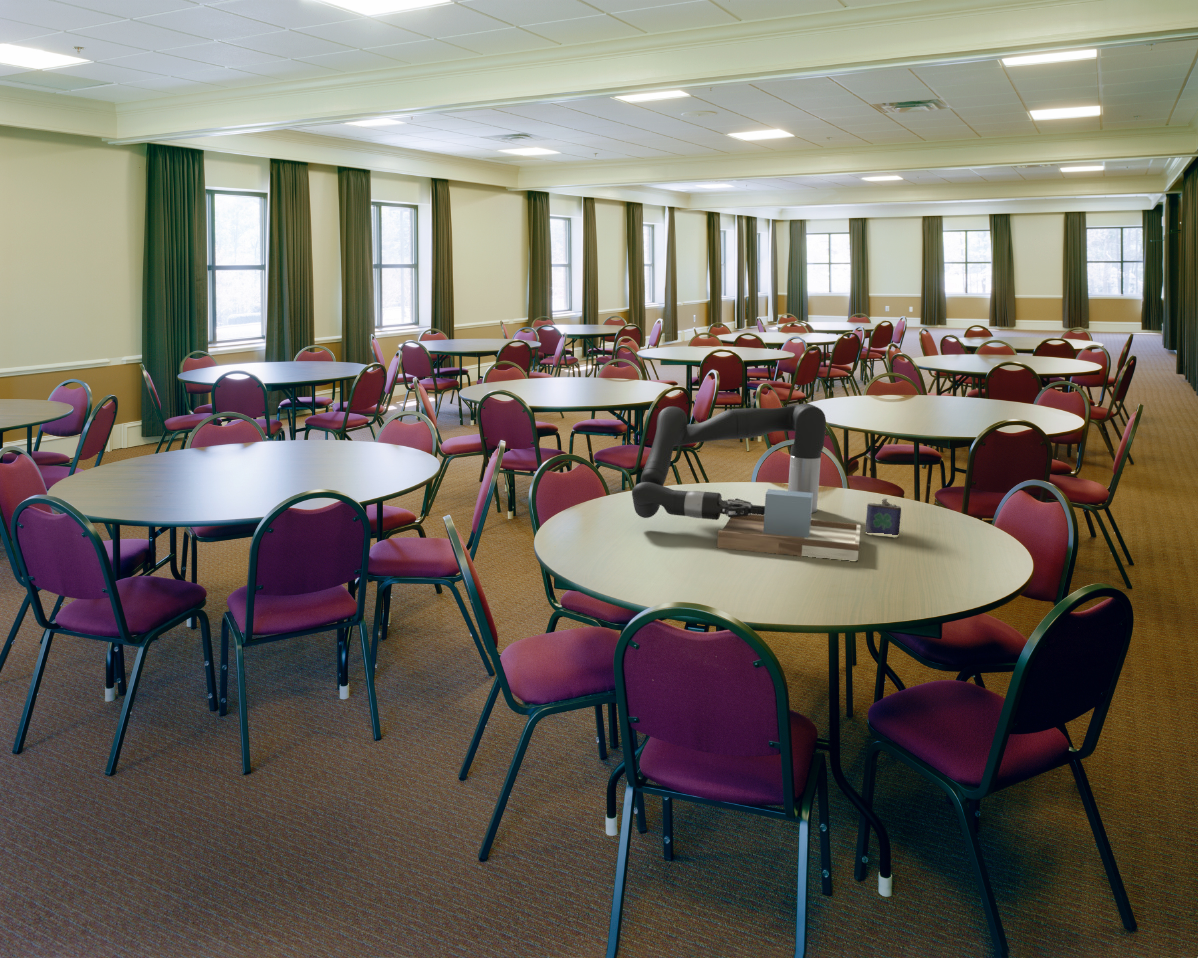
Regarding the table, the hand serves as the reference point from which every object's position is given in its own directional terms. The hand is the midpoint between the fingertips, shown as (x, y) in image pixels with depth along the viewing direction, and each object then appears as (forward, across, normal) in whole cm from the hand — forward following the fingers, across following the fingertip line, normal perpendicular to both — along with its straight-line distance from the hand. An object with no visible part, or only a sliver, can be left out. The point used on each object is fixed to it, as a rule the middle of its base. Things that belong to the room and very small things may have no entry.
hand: (765, 510), depth 242 cm
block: (+6, 0, +6) cm, 8 cm away
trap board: (+7, 0, +9) cm, 11 cm away
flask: (+31, +18, +9) cm, 37 cm away
